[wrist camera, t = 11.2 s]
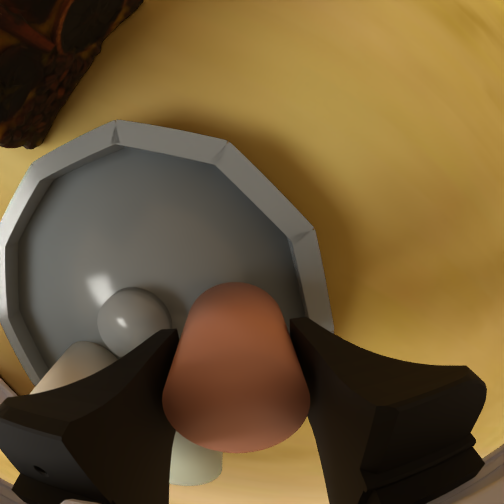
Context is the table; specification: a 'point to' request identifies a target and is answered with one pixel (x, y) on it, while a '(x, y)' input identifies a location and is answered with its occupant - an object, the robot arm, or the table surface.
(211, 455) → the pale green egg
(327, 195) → the table surface
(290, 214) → the groove tray
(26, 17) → the yellow black patterned cube
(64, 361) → the bead
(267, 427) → the bead
